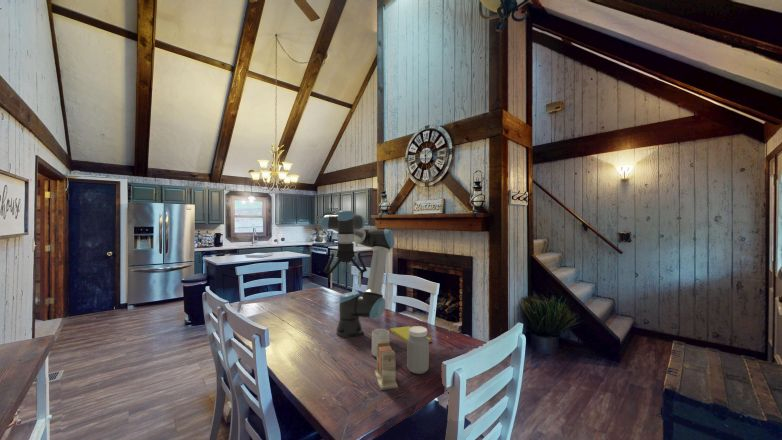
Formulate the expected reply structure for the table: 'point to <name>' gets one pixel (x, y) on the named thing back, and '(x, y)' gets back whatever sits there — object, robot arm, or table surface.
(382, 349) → the orange piece
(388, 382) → the tan blocky piece
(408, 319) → the table surface
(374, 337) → the mug
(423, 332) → the jar
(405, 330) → the yellow rectangular slab
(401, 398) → the table surface
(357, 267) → the robot arm
